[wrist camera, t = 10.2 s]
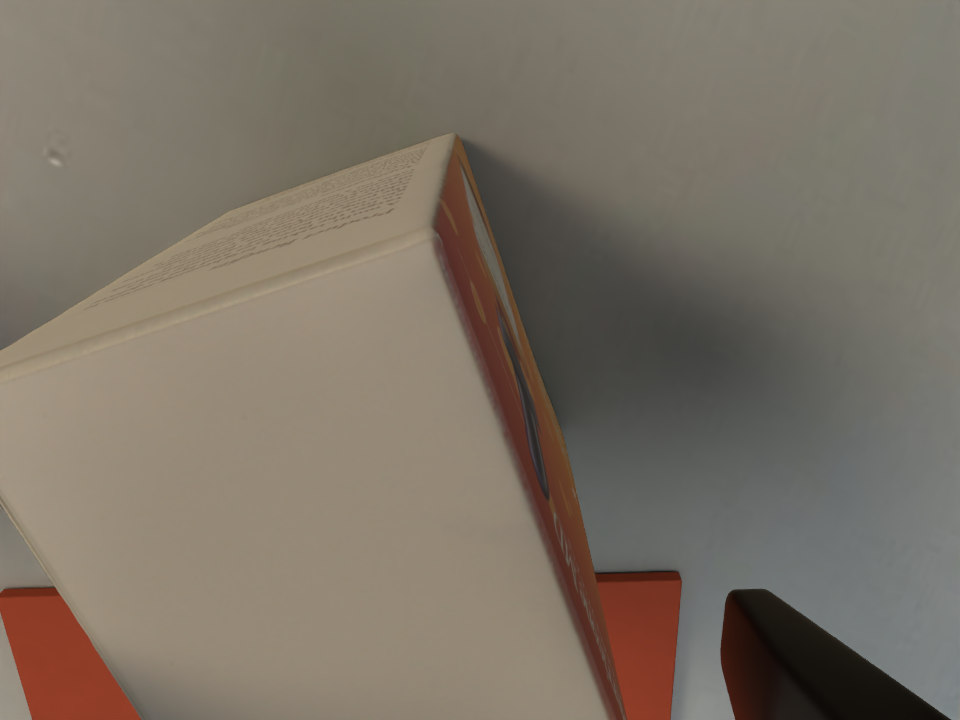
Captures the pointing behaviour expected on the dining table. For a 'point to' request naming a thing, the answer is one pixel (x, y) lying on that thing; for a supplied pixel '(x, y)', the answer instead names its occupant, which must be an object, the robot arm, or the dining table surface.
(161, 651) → the small box
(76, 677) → the tea towel
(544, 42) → the dining table surface
